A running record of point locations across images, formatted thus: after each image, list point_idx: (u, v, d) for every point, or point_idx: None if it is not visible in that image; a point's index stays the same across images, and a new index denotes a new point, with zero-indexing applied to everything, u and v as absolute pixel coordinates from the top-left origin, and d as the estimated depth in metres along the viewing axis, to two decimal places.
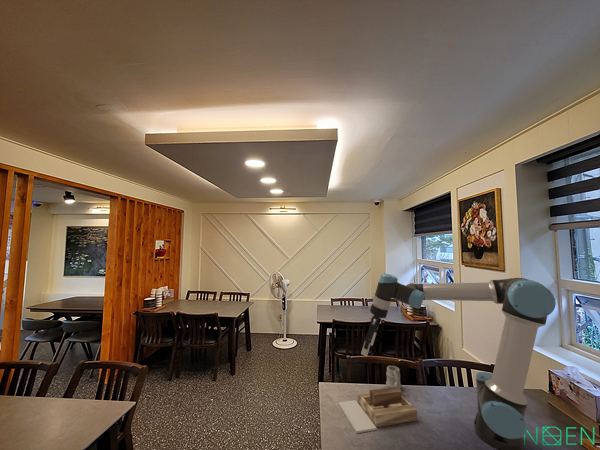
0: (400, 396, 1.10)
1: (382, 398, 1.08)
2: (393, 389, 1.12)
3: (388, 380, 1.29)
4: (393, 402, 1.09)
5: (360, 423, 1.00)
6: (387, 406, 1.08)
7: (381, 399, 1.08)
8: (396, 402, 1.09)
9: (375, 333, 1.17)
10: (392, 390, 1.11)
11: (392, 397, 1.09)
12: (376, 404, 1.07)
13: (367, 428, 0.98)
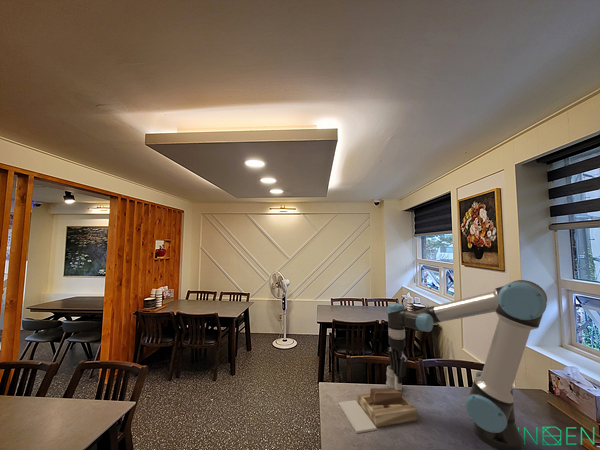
0: (400, 397, 1.10)
1: (383, 397, 1.08)
2: (394, 390, 1.12)
3: (388, 380, 1.29)
4: (393, 403, 1.09)
5: (360, 423, 1.00)
6: (387, 406, 1.08)
7: (381, 398, 1.08)
8: (396, 403, 1.09)
9: None
10: (393, 390, 1.11)
11: (393, 397, 1.09)
12: (376, 403, 1.07)
13: (367, 428, 0.98)
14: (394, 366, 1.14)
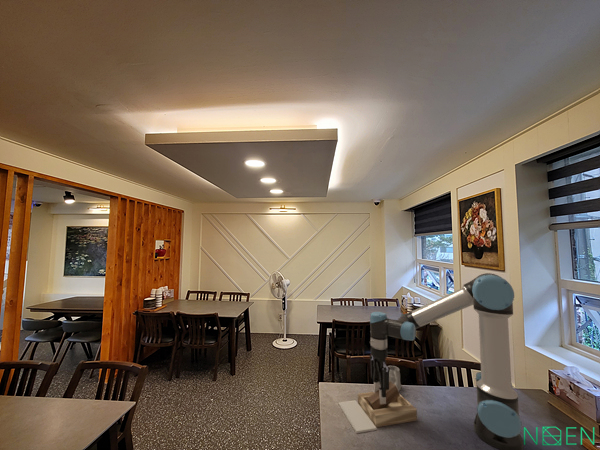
0: (396, 390, 1.10)
1: None
2: None
3: None
4: (392, 399, 1.09)
5: (360, 423, 1.00)
6: (387, 406, 1.08)
7: (379, 403, 1.07)
8: (395, 398, 1.09)
9: (379, 383, 1.12)
10: None
11: (389, 395, 1.09)
12: None
13: (367, 428, 0.98)
14: (374, 375, 1.12)
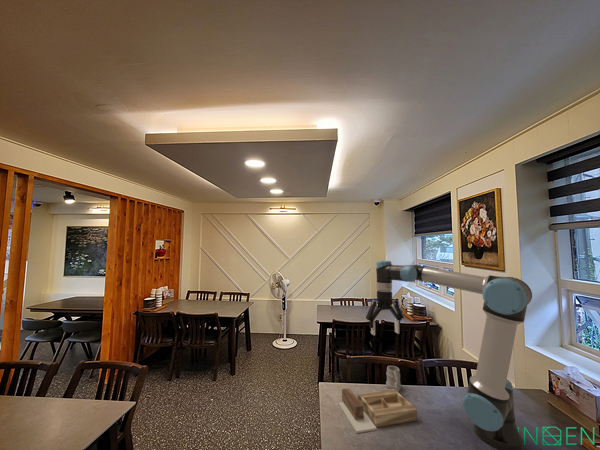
0: None
1: None
2: (348, 392, 1.14)
3: (388, 380, 1.29)
4: None
5: (360, 423, 1.00)
6: (387, 406, 1.08)
7: None
8: None
9: None
10: (350, 393, 1.14)
11: None
12: None
13: (367, 428, 0.98)
14: (376, 316, 1.20)
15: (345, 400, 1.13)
